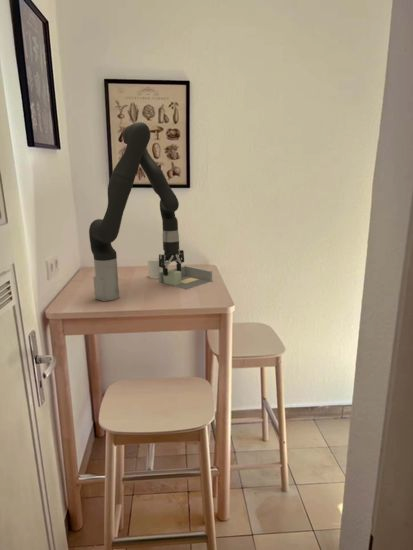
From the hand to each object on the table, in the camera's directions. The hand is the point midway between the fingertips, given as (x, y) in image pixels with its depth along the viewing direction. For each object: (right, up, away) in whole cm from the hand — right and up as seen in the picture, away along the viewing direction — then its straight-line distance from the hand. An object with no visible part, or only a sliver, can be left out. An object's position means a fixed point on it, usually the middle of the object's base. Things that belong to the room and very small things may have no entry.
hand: (172, 273), depth 179 cm
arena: (+6, -5, +3) cm, 8 cm away
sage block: (0, -5, +1) cm, 5 cm away
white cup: (-9, -2, +13) cm, 16 cm away
